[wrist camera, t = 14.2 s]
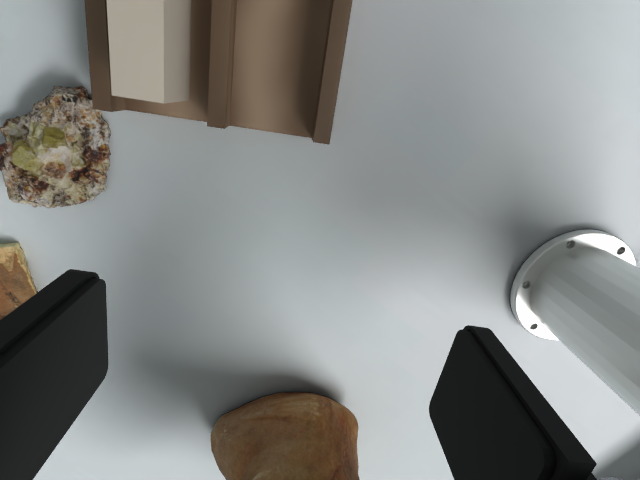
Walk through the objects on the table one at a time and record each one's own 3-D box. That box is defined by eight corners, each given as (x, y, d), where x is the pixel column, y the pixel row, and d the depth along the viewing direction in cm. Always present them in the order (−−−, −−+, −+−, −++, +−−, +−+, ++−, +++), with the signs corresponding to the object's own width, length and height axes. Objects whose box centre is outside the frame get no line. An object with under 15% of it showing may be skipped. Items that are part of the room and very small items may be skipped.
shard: (64, 337, 37) (54, 349, 35) (-15, 343, 36) (-29, 355, 35) (27, 238, 33) (13, 247, 31) (-63, 243, 32) (-82, 252, 30)
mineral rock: (80, 238, 30) (-43, 193, 26) (91, 215, 34) (-16, 173, 30) (139, 127, 28) (13, 58, 23) (144, 115, 31) (35, 53, 27)
